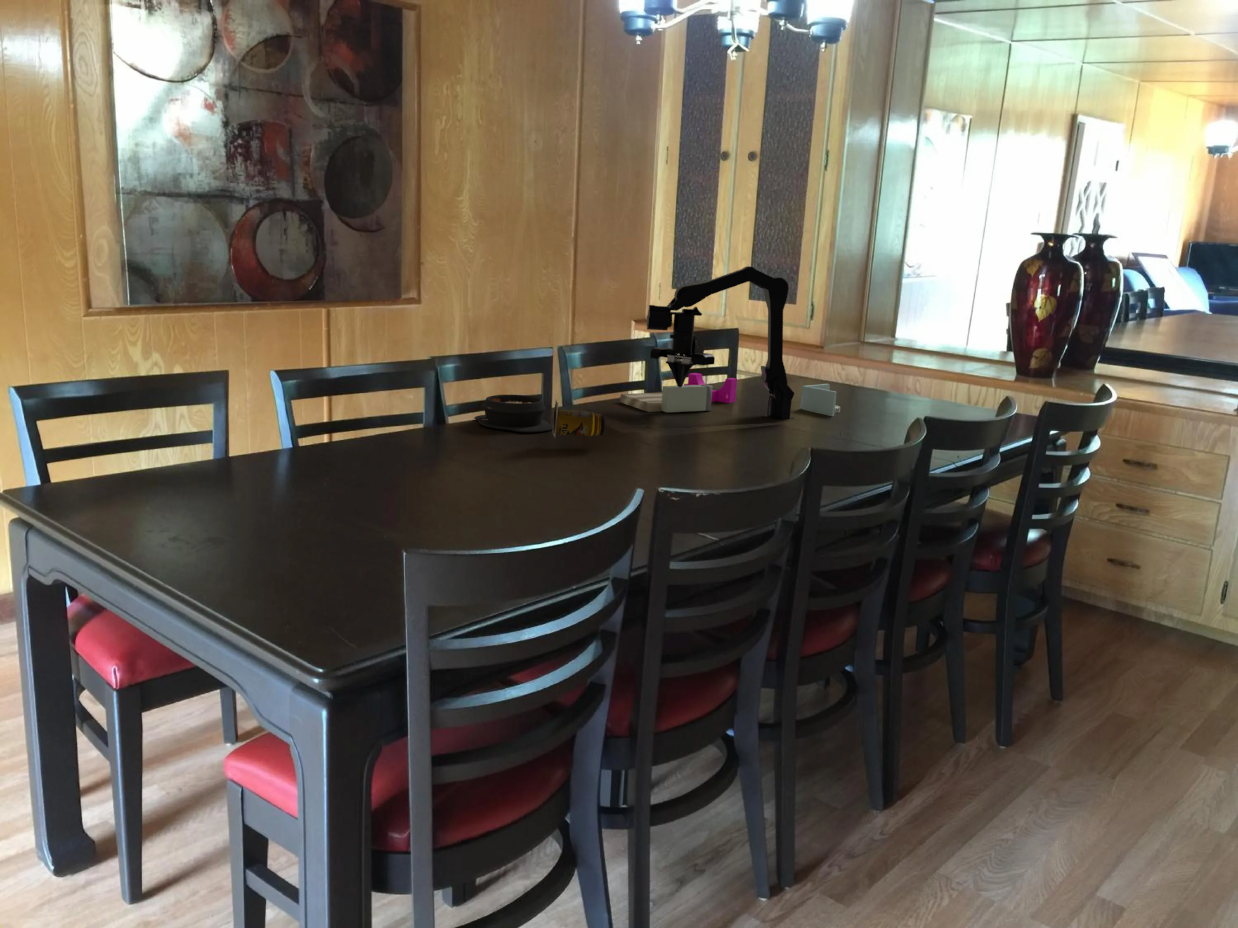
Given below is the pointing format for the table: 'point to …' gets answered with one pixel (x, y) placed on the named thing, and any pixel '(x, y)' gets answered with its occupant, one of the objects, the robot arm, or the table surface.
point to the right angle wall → (819, 399)
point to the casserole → (514, 413)
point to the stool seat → (643, 401)
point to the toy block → (722, 395)
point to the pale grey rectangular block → (686, 398)
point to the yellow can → (577, 423)
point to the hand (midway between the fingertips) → (679, 386)
